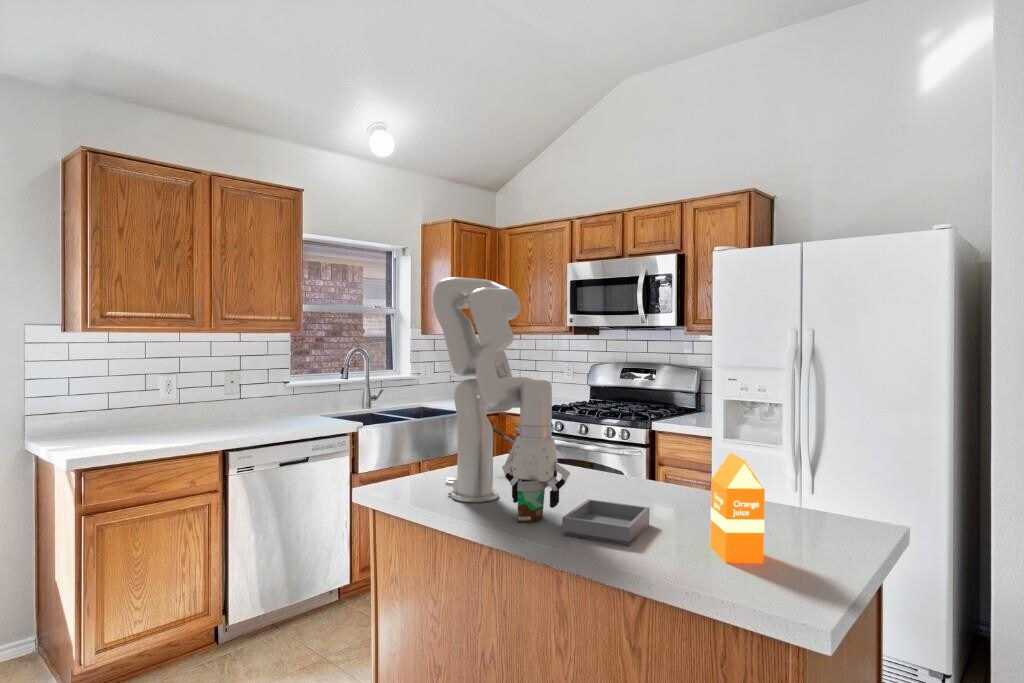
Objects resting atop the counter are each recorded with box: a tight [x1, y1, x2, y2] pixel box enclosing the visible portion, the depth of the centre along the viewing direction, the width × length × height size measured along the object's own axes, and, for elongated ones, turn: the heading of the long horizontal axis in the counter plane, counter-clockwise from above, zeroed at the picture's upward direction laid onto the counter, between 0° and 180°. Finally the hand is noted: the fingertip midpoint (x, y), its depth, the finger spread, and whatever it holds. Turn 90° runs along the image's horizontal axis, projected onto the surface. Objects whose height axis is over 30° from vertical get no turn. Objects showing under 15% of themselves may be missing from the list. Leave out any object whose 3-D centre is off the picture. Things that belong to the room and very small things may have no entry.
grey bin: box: [561, 498, 651, 547], centre depth 143 cm, size 15×17×4 cm
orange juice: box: [709, 452, 766, 564], centre depth 128 cm, size 8×9×20 cm
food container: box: [517, 480, 549, 524], centre depth 151 cm, size 12×6×10 cm, turn 168°
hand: (535, 503), depth 151 cm, fingers open, 9 cm apart
